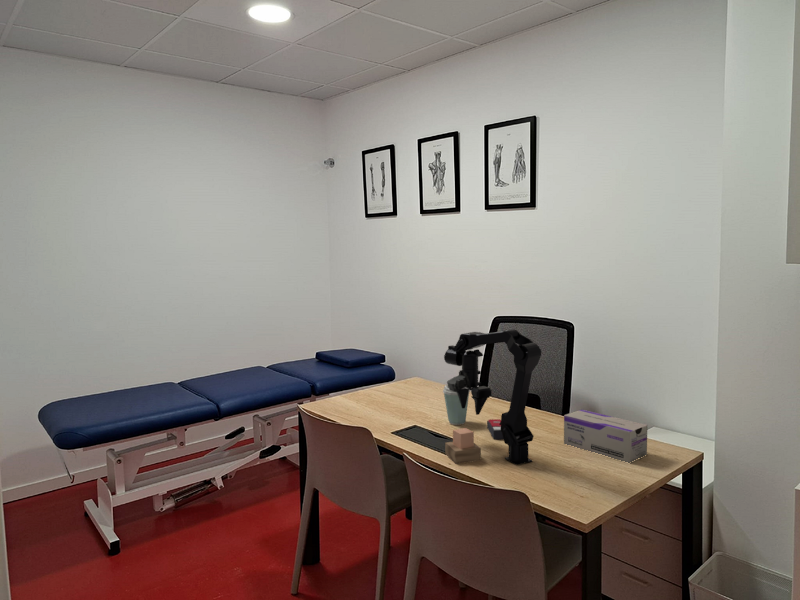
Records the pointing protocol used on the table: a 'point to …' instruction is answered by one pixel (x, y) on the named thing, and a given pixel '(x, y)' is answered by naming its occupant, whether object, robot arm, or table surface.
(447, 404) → the disposable coffee cup
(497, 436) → the calculator
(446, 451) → the walnut block
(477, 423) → the table surface
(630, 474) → the table surface
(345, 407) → the table surface
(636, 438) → the surgical sutures box
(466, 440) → the terracotta cube
